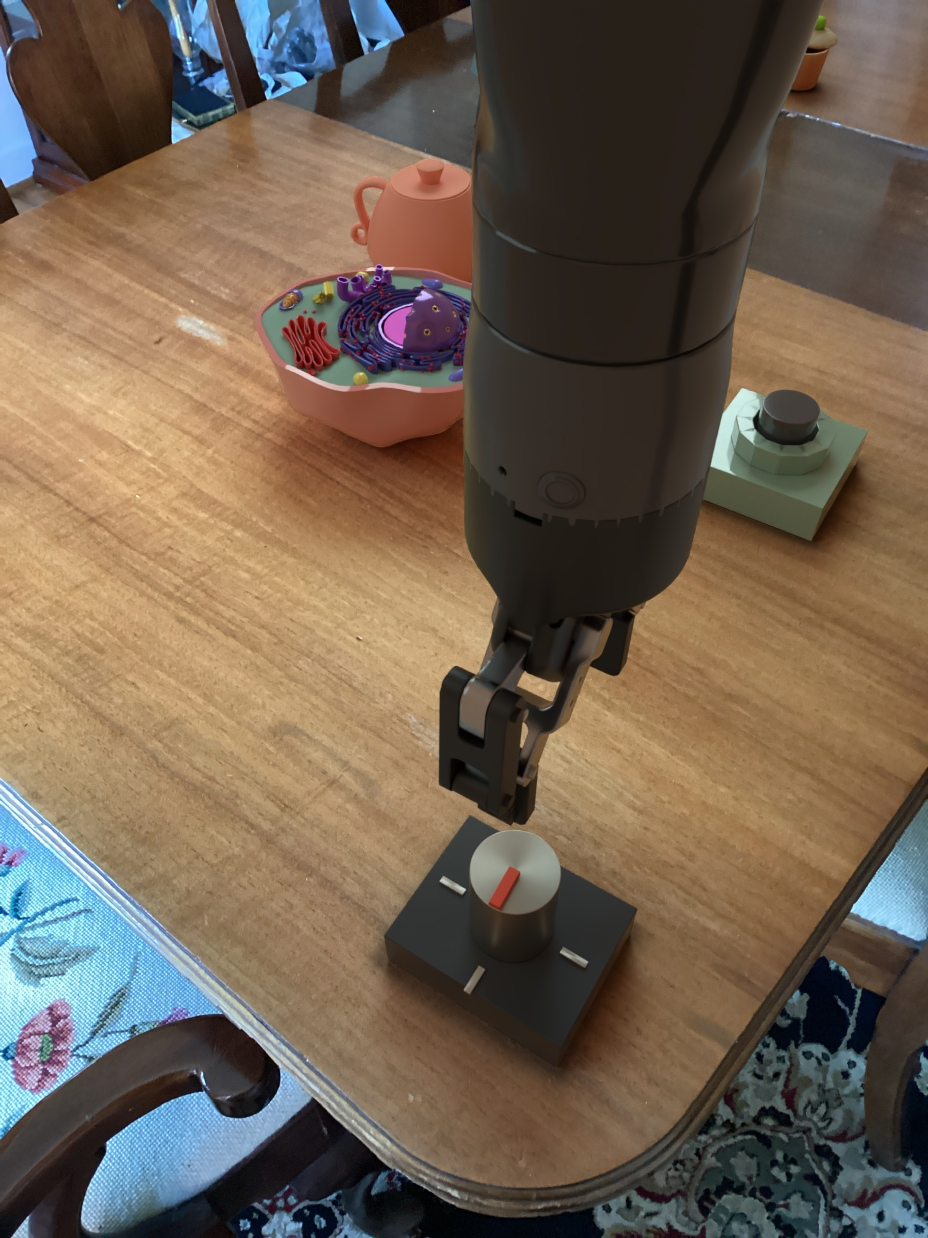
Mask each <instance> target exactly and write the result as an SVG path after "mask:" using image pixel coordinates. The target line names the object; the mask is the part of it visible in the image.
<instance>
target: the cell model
mask: <svg viewBox="0 0 928 1238" xmlns="http://www.w3.org/2000/svg"><path fill="white" fill-rule="evenodd" d="M471 289H472V282H470V283H469V282H466V281H462V280H459V279H456V278H453V277H451V276H448V275H446V274H443V273H440V272H438V271H434V270H430V269H422V268H408V267H383V266H382V265H381V264H378V265H376V267H375V266H373V267H364V268H363V267H362V268H357V269H351V270H346V271H340V272H333V273H327V274H321V275H316V276H311V277H307V278H304V279H300V280H298V281H296V282H294V283H292V284H291V285H289V286H288V287H287V288H285V289H283V290H282V291H280V292H279V293H278V294H277V295H275V296H273V298H271V299H270V300H268V301H267V302H266V303H264V304H263V305H262V306H261V308H259V310H258V312H256V314H255V317H254V326H255V330H256V332H257V335H258V337H259V339H260V341H261V343H262V345H263V347H264V349H265V351H266V353H267V355H268V357H269V359H270V361H271V363H272V366H273V368H274V370H275V373H276V375H277V378H278V382H279V385H280V388H281V390H282V392H283V395H284V397H285V399H286V402H287V404H288V406H289V407H290V408H291V410H293V411H294V412H295V413H297V414H299V415H300V416H303V417H305V418H307V419H310V420H313V421H315V422H318V423H321V424H323V425H325V426H328V427H331V428H333V429H335V430H337V431H339V432H341V433H343V434H344V435H346V436H349V437H350V438H352V439H355V440H358V441H360V442H363V443H365V444H366V445H367V444H368V445H369V446H372V447H376V448H388V447H391V446H394V445H396V444H399V443H402V442H404V441H406V440H413V439H419V438H423V437H428V436H435V435H438V434H441V433H442V434H443V433H444V432H445V431H447V430H448V429H450V428H451V427H452V426H453V425H454V424H456V423H457V422H458V421H459V420H461V419H463V356H464V348H465V340H466V334H467V328H468V322H469V314H470V306H471Z"/></svg>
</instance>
